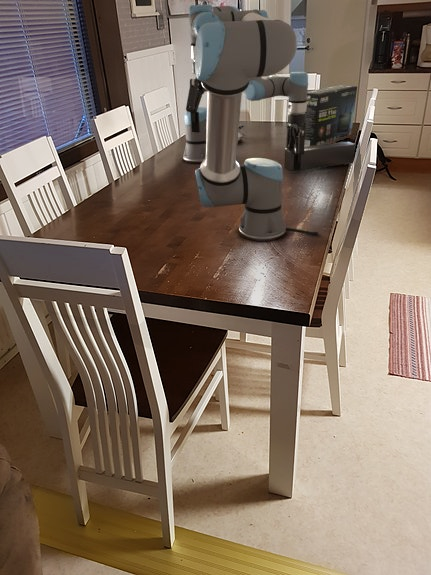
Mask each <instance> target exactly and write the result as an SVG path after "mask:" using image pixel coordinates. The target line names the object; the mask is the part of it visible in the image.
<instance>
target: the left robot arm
mask: <svg viewBox="0 0 431 575" xmlns="http://www.w3.org/2000/svg"><path fill="white" fill-rule="evenodd" d="M211 6H212V7H213V12H219V11H241V10H240V9H239V8H238V7H236V6H233V5H220V6H219V5H217V6H213V5H211ZM308 89H309V74H308V72H306V71H292V72H290V73H289V76H282V75H281V76H280V75H277V74H274V75H270V76H267V77H266V78H263V77H251V78H250V80H249V86H248V88H247V89H246V91H244V92H243V93H244V97H245V98H246V99H247V100H248V101H250V102H254V101H258V102H259V101H261V100H265V99H270V98H275V97H288V98H287V99H288V101H287V102H288V104H287V108H288V109H287V112H288V113H287V123H288V124H287V125H286V143H285V149H289V148H295V149H296V154H294V155H295V160H294V170H298V171H301V170H300V167H301V155H303V154H304V146H305V133H306V131H303V130H302V124H303V123H305V121H306V113H305V112H306V108H307V92H308V91H309V90H308ZM197 112H199V127H200V132H199V133H197V132H192V126H191V114H190V112H188V111H186V110H185V113H184V121H183V123H184V131H185V132H184V133H185V148H184V152H183V156H182V157H183V162H185V163H188V164H202V162H203V160H204V159H206V136H207V106H199V107H198V110H197Z"/></svg>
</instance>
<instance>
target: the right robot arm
mask: <svg viewBox="0 0 431 575" xmlns="http://www.w3.org/2000/svg"><path fill="white" fill-rule="evenodd" d="M212 6H213V5H212V4H193V5H192V4H191V5H190V6H189V8H188V20H189V36H190V48H191V49H190V54H191V55H190V56H191V60H193V61H192V62H191V72H192V74H193V75H195V78H190V79H189V89H188V94H187V100H186V106H185V112H186V111H188V112H190V114H191V126H192V132H197V133H199V132H200V127H199V112H197V110H198V107H200V103H201V101H202V97H203V95H204V94H205V93H207V96H206V98H207V100H206V108H207V136H206V159H204V160H203V162H202V163H200V167H199V168H196V169H195V171H194V172H195V178H196V184H197V189H198V195H199V200H200V204H201V205H202V206H203V207H205V208H217V207H226V206H238V205H239V206H240V205H244V211H243V213H242V216H241V217H240V220H239V226H238V232H239V235H240V236H241V237H242V238H244V239H247V240H250V241H254V242H271V241H277V240H279V239H281V238H283V237H285V235H286V234H287V231H288V232H293V233H298V234H299V233H300V234H305V235H311V236H319V231H311V230H304V229H299V228H292V227H287V223H286V221H285V216H284V214H283V210H282V200H283V181H284V174H283V173H284V172H283V171H284V170H283V166H282V164H280V163H279V162H278V161H276V160H272V159H268V158H263V157H250V158H246V159H245V160H244V162H243V165H240V163H239V162H238V160H237V152H238V143H239V142H238V131H239V130H240V128H239V126H240V120H241V118H240V117H241V108H242V96H243V93H244V91H246V89H247V88H248V86H249V80H250V78H251V77H262V78H263V77H269V76H274V75H277V73H279V72H281V71H282V70H284V69H285V68H287V67H288V66H289V65H290V64H291V63H292V61H293V60H294V58H295V56H296V53H297V50H298V36H297V34H296V31H295V29H294V28H293V26H291V25H290V24H289V23H287V22H285V21H284V20H281V19H269V15H268V12H267V11H266V10H265V9H250V10H240V11H219V12H213V7H214V6H213V7H212Z"/></svg>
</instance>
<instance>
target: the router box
mask: <svg viewBox="0 0 431 575" xmlns="http://www.w3.org/2000/svg"><path fill="white" fill-rule="evenodd" d="M357 93H358V86H356V85H350V84H339V85H338V84H337V85H334V86H328V87H324V88H318V89H314V90H307V108H306V112H305V113H306V121H305V123H303V124H302V130H303V131H306V133H305V146H314V145H323V144H325V143H328V142H331V141H333V140H336V139H338V138H341V137H344V136H347V135H351V136H352V133H353V132H352V131H353V125H354V115H355V109H356V99H357Z"/></svg>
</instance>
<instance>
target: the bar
mask: <svg viewBox="0 0 431 575" xmlns="http://www.w3.org/2000/svg"><path fill="white" fill-rule="evenodd" d="M355 152H356V144H355V143H353V142H351V141H340V142H337V143H331V144H323V145H314V146H306V147H304V154H303V155H301V167H300V170H294V160H295V155H294V154H296V149H295V147H294V148H289V149H288V148H285V149H284V163H283V168H284V169H285V171H288V172H297V171H298V172H299V171H306V170H313V169H312V168H314V169H320V168H319V167H321V168H325V167H324V166H329V167H332V166H331V165H337V164H344V165H346V164H345V163H348V164H347V165H351V164H354V161H355V160H354V159H355ZM337 166H338V165H337Z"/></svg>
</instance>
